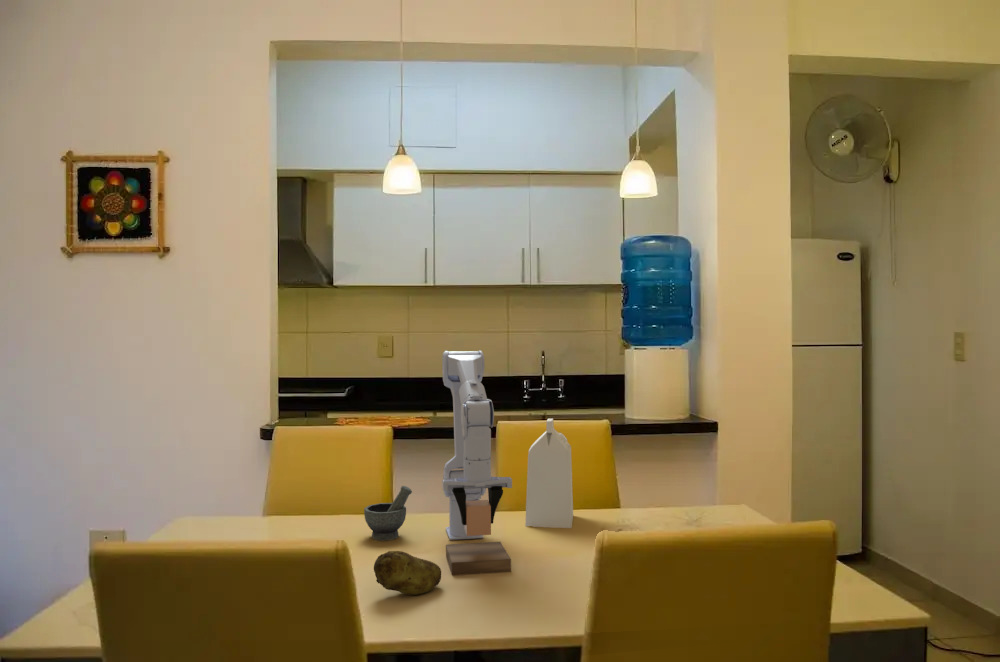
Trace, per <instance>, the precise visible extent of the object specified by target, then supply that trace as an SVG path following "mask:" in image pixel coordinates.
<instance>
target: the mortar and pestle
mask: <svg viewBox="0 0 1000 662" xmlns="http://www.w3.org/2000/svg"><path fill="white" fill-rule="evenodd" d="M412 493H413V491H412V489H411V488H410V487H409V486H406V485H401V487H400V491H399V492H398V493H397V495H396V497H395V499H394V500H393V501H392V502H381V503H379V502H378V503H375V504H370V505H367V506H366V507H364V509H363V511H364V512H363V513H364V521H365V522H366V524H367V527H369V529H370V530H371V531H372V533H371V538H372V539H373V540H375V541H383V542H384V541H392V540H396V539H397V538H398V537H399V531H398V530H399V529H400V528H401V527H402V526H403V524H404V522H405V520H406V516H407V507H406V506H405V505H406V502H407V500H408V498H409V496H410V495H411V494H412Z"/></svg>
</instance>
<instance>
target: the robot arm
mask: <svg viewBox="0 0 1000 662" xmlns="http://www.w3.org/2000/svg"><path fill="white" fill-rule="evenodd" d="M441 358H442V359H441V360H442V361H441V363H442V364H441V367H442V382H443V385H444V386H445V387H446V388H447V389H450V392H451V396H452V407H453V408H452V409H453V438H454V439H453V440H454V444H453V445H454V447H453V448H454V456H453V457H452V458H450V459H449V460H448V461H447V462H445V464H444V467H443V477H442V484H441V485H442V486H441V487H442V491H443V495H444V497H446V498H448V499H449V500H448V501H449V505H448V506H449V511H448V512H449V515H448V516H449V517H448V518H449V526H446V527H445V531H446V534H447V536H448V539H449V541H452V540H453V541H454V540H471V539H475V540H476V539H484V535H476V536H467V535H466V532H465V529H464V525H466V501H474V500H482V496H484V495H485V494H486V491H488V492H487V493H488V496H487V497H488V502H489V503H490V505H491V525H492V524H494V519H495V514H496V511H497V508H498V505H499V502H500V501H501V499H502V497H503V495H504V490H503V488H507V489H512V488H513V478H511V476H492V466H491V465H492V455H491V453H492V450H491V448H492V440H491V439H492V430H491V428H493V426H494V421H495V412H494V411H495V409H494V404H493V401H492V399H490V398H488V397H487V393H486V389H485V386H484V385H483V383H482V380H483V376H484V373H485V368H486V367H485V364H486V363H485V355H484V352H483V351H482V350H477V351H476V350H472V351H465V350H464V351H463V350H462V351H461V350H457V351H456V350H452V351H449V350H444V352H442V357H441Z"/></svg>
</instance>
